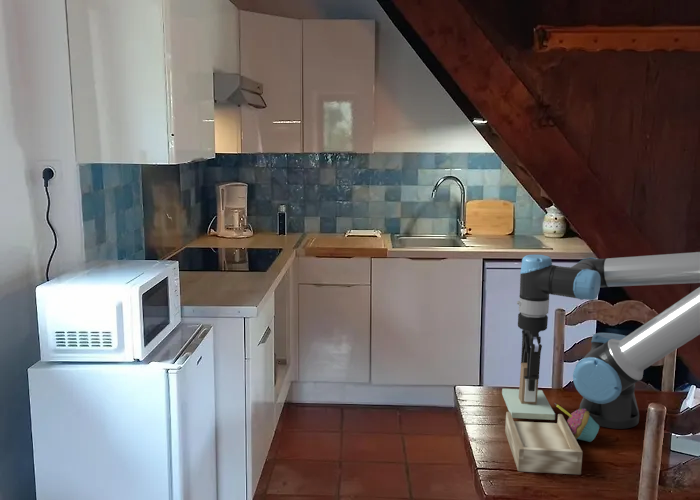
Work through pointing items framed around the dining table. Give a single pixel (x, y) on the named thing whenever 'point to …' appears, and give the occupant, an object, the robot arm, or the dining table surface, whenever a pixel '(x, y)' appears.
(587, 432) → the cupcake
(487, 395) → the dining table surface
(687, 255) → the robot arm
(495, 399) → the dining table surface
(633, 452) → the dining table surface
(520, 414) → the cover plate
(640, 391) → the dining table surface
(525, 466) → the birch box
